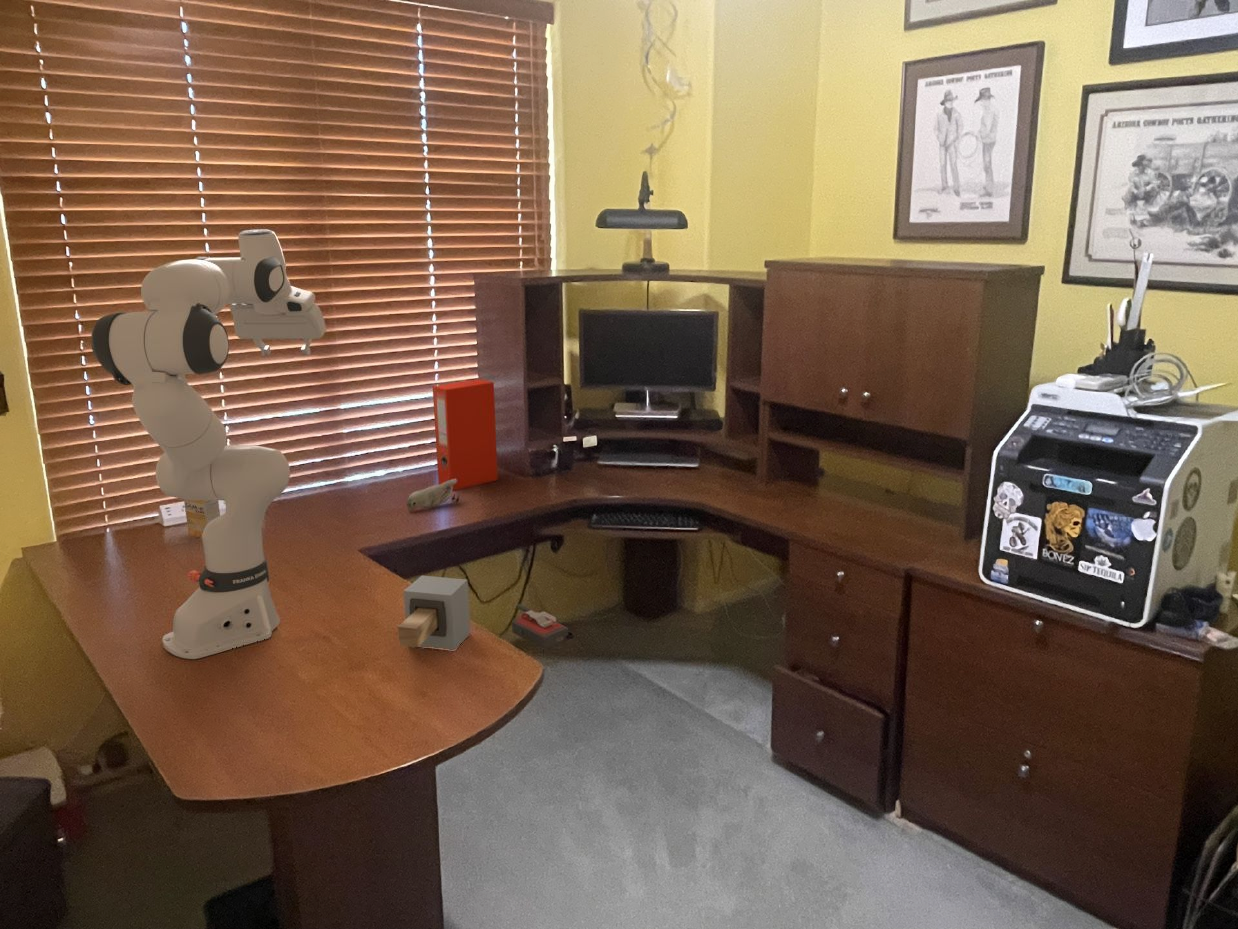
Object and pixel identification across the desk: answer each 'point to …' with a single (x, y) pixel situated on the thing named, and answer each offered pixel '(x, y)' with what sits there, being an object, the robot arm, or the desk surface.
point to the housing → (442, 608)
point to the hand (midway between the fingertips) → (286, 354)
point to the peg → (418, 626)
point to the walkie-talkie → (540, 628)
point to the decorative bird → (432, 496)
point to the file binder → (465, 433)
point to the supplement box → (200, 515)
